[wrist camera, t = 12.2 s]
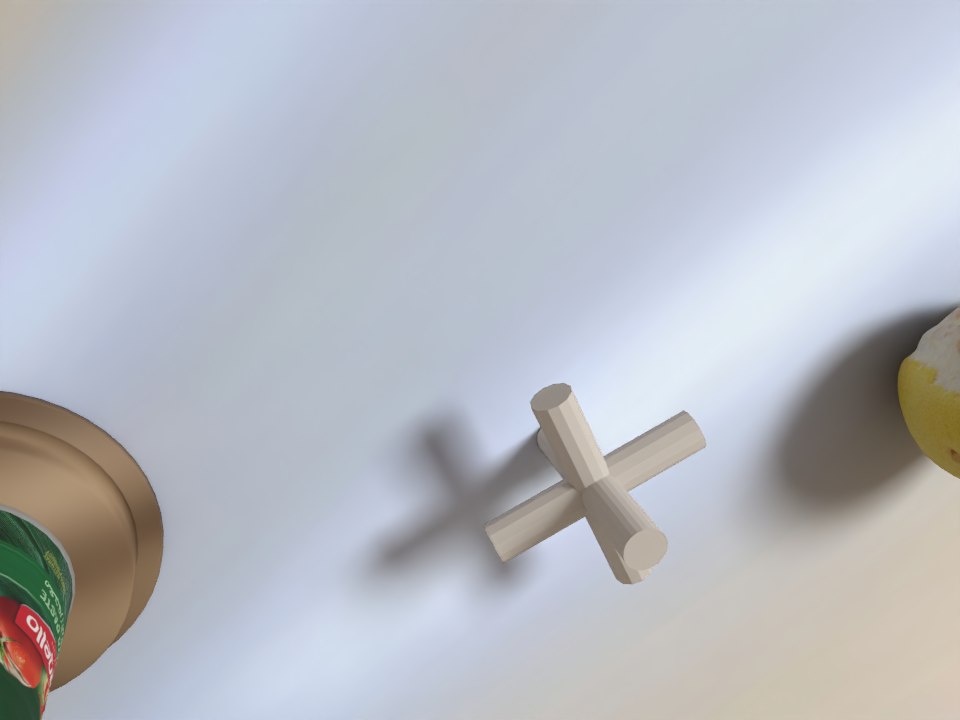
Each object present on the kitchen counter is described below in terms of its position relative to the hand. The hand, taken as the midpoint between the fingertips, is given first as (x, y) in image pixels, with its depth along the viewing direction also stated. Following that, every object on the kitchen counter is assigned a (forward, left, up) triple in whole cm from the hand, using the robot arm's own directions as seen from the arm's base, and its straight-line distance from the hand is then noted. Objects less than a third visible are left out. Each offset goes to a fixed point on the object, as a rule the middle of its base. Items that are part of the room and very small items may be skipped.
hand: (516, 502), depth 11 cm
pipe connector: (+15, +8, -27) cm, 32 cm away
